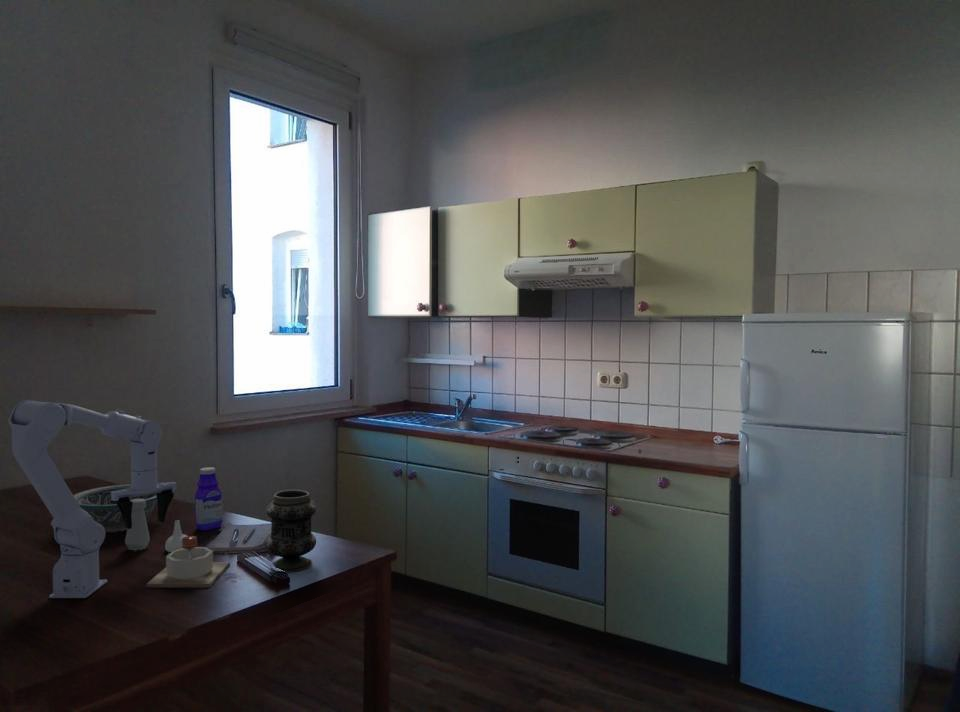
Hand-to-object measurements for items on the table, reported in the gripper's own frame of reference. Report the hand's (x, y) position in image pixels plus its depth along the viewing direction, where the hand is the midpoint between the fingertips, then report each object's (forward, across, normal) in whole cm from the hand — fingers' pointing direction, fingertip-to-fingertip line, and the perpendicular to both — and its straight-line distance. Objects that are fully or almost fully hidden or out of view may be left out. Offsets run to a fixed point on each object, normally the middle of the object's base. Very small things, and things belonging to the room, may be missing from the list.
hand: (145, 524), depth 168 cm
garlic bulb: (+11, -11, -7) cm, 17 cm away
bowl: (+11, -7, -38) cm, 40 cm away
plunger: (+9, -5, +13) cm, 17 cm away
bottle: (+11, -25, -19) cm, 33 cm away
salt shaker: (+11, -4, -15) cm, 19 cm away
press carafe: (+10, -5, +13) cm, 18 cm away
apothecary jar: (+11, -26, +24) cm, 37 cm away
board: (+10, -5, +13) cm, 18 cm away
